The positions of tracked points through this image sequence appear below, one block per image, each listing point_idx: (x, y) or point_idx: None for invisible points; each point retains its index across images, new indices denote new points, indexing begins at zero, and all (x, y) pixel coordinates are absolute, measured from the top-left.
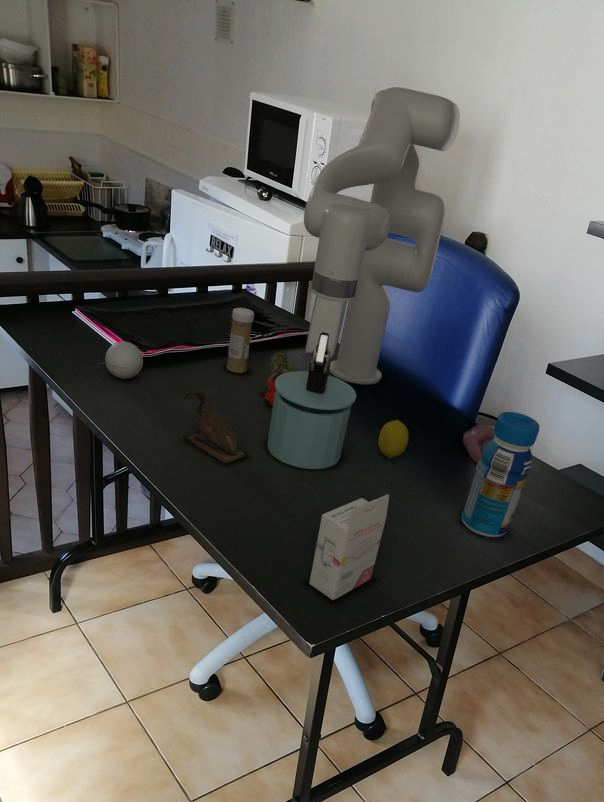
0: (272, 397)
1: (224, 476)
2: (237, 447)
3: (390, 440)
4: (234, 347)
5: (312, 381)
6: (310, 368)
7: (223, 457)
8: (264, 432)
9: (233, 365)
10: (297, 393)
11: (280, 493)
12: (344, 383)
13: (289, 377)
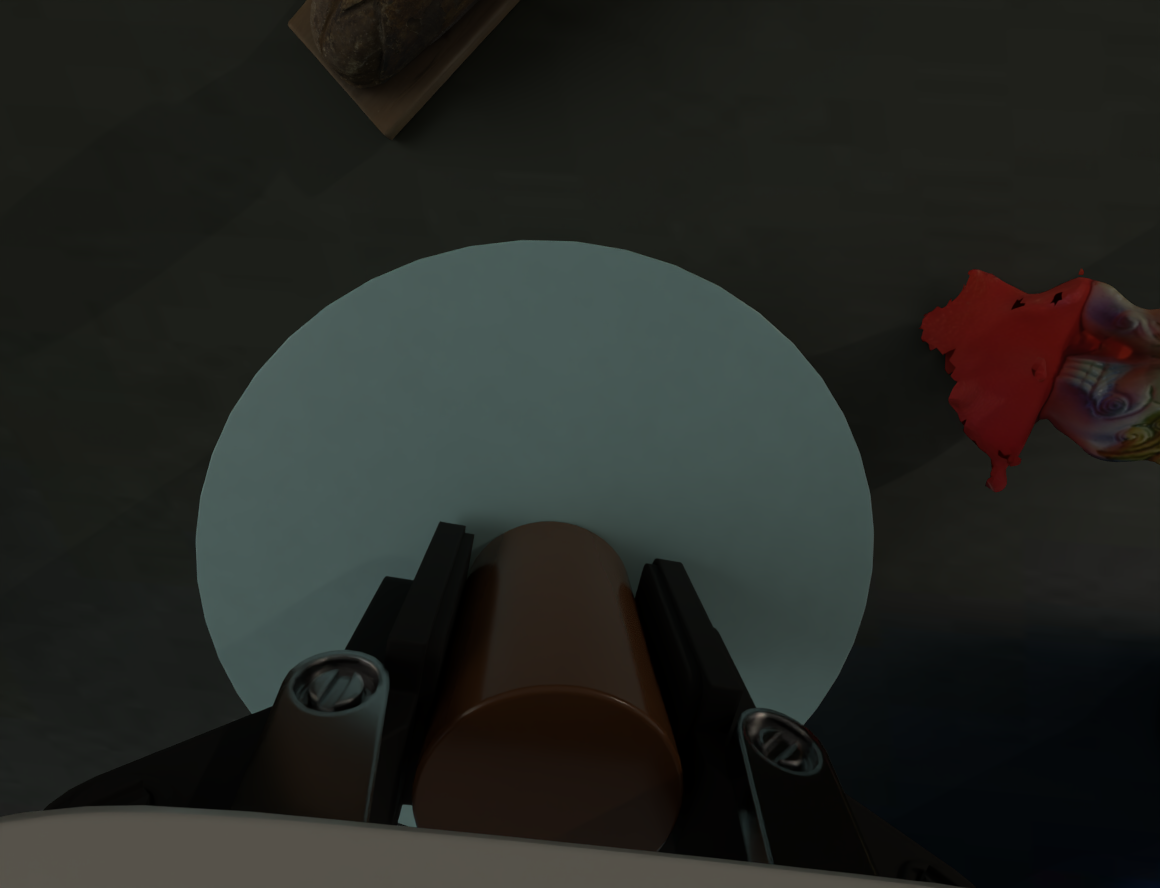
0: (970, 314)
1: (163, 25)
2: (347, 77)
3: None
4: None
5: (370, 610)
6: (413, 651)
7: (301, 11)
8: (673, 264)
9: None
10: (379, 438)
11: (108, 304)
12: None
13: (713, 390)
